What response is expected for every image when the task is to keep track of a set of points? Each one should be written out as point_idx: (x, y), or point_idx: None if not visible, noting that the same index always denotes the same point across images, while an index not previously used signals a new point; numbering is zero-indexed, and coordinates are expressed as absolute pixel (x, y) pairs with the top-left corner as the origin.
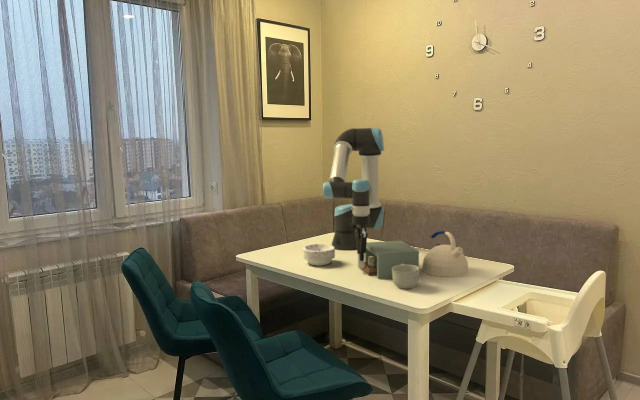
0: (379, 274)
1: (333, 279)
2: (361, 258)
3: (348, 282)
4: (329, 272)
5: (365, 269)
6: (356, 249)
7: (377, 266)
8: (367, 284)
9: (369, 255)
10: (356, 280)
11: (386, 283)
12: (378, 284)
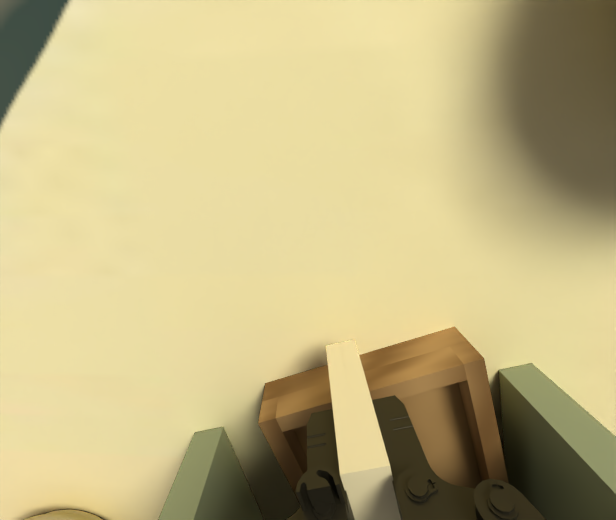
0: (185, 466)
1: (123, 119)
2: (309, 446)
3: (70, 250)
4: (349, 65)
5: (325, 385)
6: (488, 488)
7: (182, 515)
8: (61, 372)
9: (571, 475)
10: (136, 306)
11: (112, 465)
12: (80, 428)
